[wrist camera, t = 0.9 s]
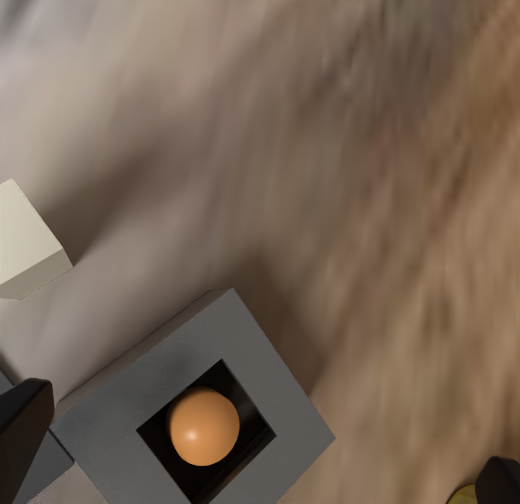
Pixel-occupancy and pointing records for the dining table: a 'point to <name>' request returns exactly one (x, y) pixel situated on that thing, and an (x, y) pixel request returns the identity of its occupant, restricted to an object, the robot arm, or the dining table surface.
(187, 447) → the orange rounded piece
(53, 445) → the mat
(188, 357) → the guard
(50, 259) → the cream rectangular prism
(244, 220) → the dining table surface
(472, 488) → the vase
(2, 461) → the robot arm
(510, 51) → the dining table surface
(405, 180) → the dining table surface
